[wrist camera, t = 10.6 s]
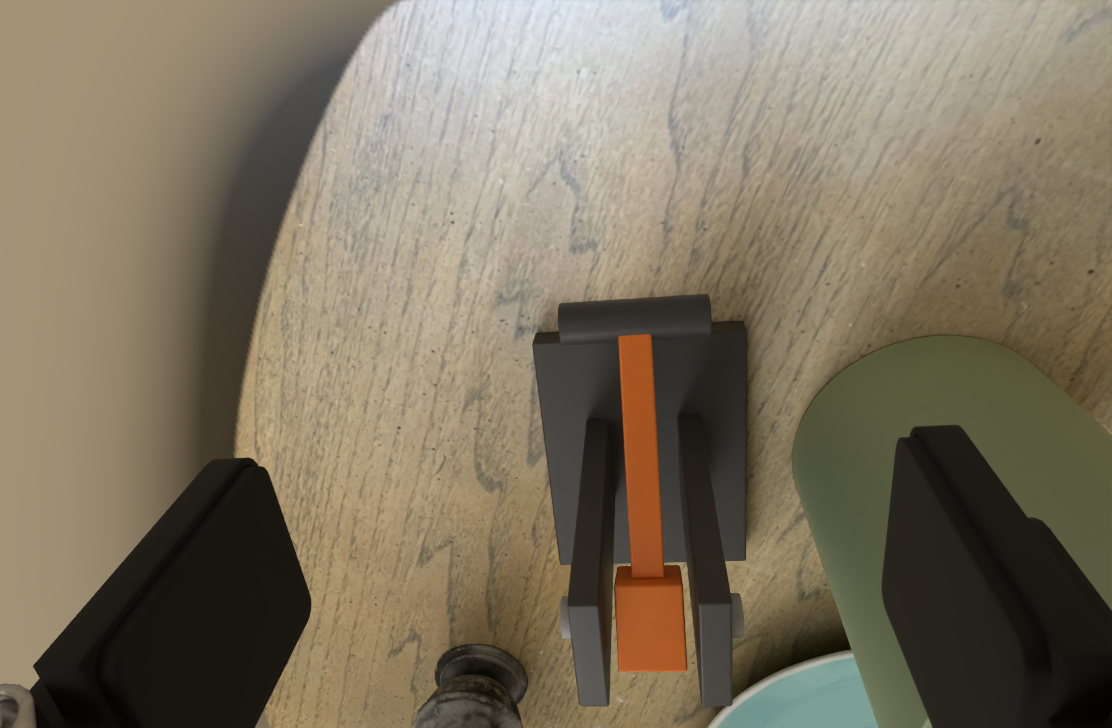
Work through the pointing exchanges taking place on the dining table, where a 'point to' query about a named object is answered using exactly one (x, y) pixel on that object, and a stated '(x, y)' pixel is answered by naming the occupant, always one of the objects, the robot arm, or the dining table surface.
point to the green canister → (998, 433)
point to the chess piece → (475, 690)
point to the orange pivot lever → (642, 468)
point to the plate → (804, 698)
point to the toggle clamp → (685, 489)
